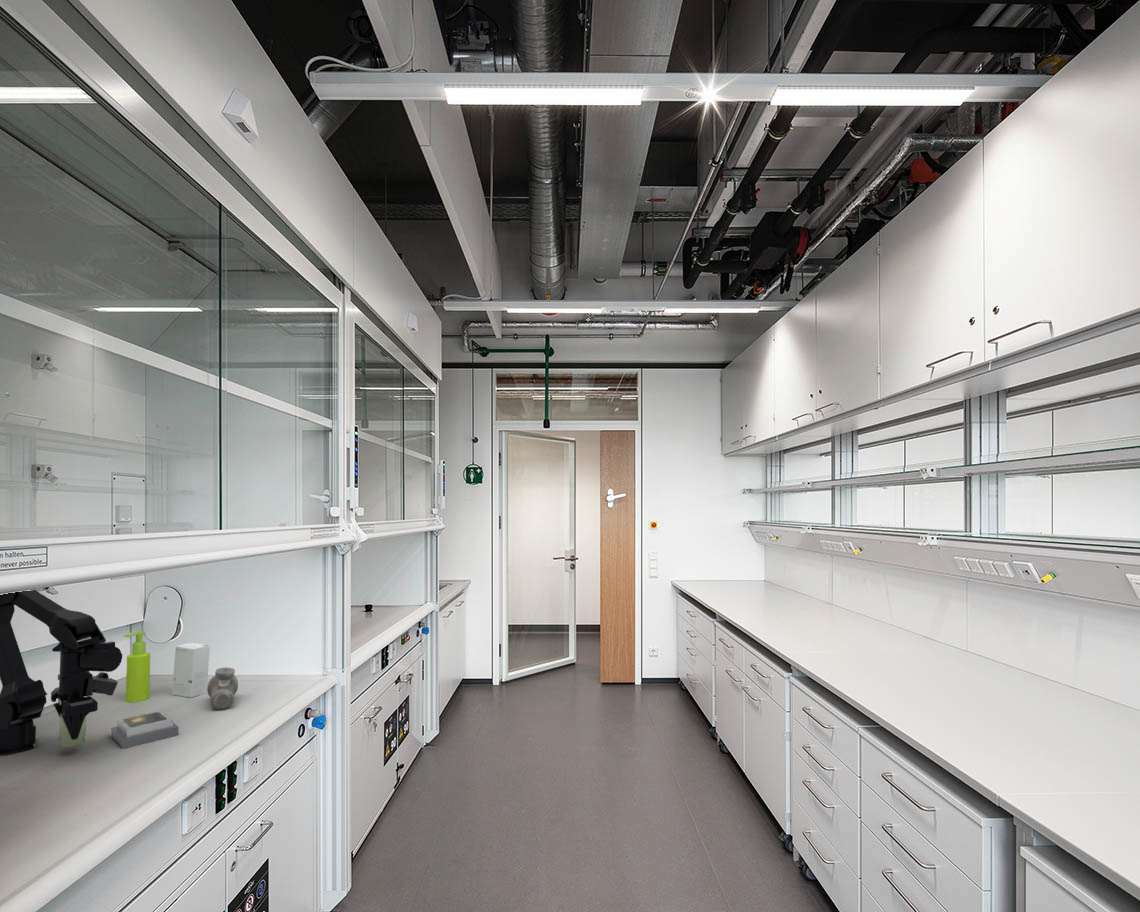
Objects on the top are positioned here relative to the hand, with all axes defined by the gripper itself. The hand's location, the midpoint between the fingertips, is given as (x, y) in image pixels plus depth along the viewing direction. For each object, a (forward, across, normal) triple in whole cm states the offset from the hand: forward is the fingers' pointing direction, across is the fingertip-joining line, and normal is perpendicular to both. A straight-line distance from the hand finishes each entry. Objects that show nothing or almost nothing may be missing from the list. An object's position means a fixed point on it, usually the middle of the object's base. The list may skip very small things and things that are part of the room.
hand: (72, 736), depth 156 cm
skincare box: (+4, +29, -34) cm, 45 cm away
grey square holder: (+4, 0, -15) cm, 15 cm away
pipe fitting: (+4, +11, -37) cm, 39 cm away
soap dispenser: (+4, +35, -21) cm, 41 cm away
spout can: (+2, 0, 0) cm, 2 cm away
